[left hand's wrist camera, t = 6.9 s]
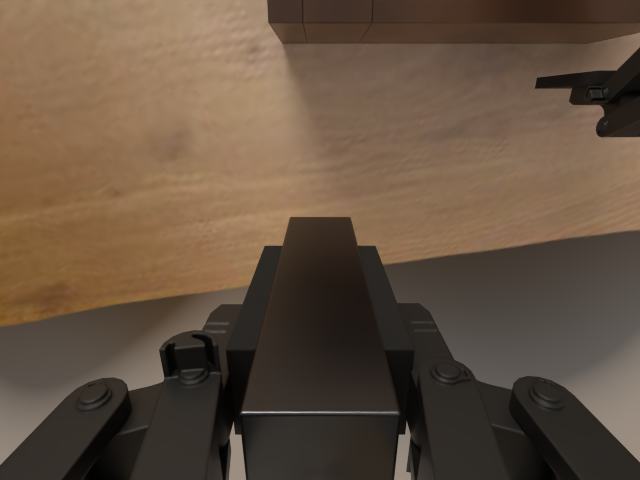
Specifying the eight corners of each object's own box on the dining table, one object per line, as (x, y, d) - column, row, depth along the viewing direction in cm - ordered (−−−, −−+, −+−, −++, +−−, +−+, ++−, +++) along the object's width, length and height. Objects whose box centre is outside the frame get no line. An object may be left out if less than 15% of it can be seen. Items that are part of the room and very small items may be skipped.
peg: (291, 271, 19) (249, 521, 8) (289, 216, 18) (238, 413, 7) (349, 271, 19) (390, 520, 8) (350, 216, 18) (402, 414, 7)
